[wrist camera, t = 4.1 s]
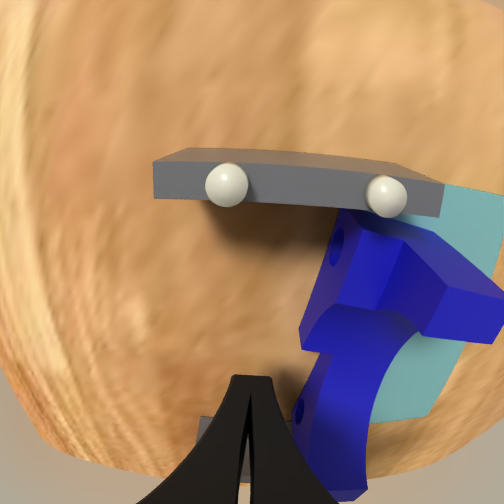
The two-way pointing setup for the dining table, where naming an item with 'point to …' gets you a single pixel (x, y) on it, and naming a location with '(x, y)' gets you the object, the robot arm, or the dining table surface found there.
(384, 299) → the blue bent block
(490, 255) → the mat
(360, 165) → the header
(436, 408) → the dining table surface
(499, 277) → the dining table surface
